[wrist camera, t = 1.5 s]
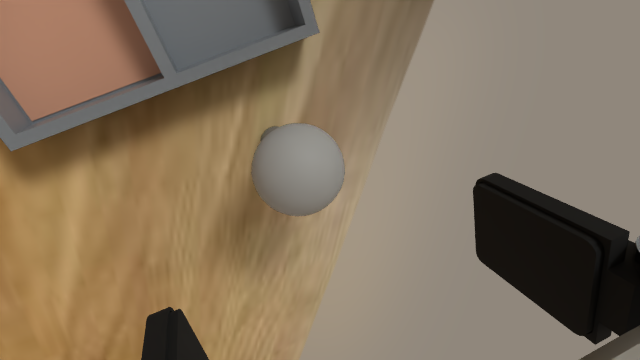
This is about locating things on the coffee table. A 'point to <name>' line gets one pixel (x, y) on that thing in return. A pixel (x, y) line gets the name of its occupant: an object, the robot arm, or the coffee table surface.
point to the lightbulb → (297, 169)
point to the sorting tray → (124, 53)
